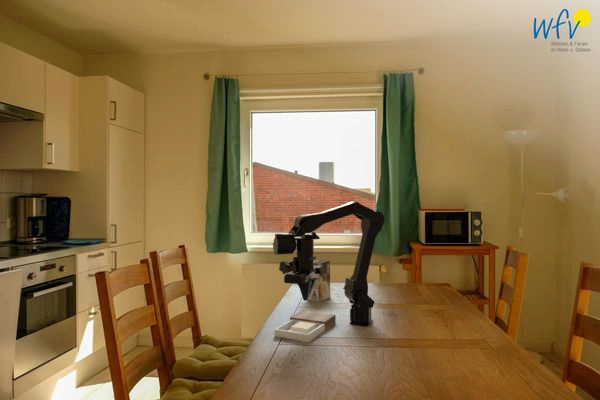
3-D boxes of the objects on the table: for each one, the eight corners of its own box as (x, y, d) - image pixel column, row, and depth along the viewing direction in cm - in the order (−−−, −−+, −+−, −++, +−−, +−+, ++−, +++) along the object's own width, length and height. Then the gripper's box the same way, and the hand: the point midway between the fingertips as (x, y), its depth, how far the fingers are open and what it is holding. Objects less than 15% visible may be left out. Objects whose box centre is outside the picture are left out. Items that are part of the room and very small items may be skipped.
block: (315, 329, 138) (315, 323, 138) (307, 335, 132) (307, 329, 132) (299, 327, 140) (299, 321, 140) (291, 332, 135) (291, 326, 135)
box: (324, 331, 138) (324, 323, 138) (308, 342, 127) (308, 334, 127) (292, 326, 143) (292, 319, 143) (274, 336, 133) (274, 329, 132)
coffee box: (318, 295, 186) (318, 259, 186) (330, 297, 182) (330, 260, 182) (306, 300, 179) (306, 262, 179) (318, 302, 175) (318, 263, 175)
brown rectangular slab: (335, 323, 146) (335, 314, 146) (324, 331, 138) (324, 321, 138) (302, 318, 152) (302, 310, 152) (290, 325, 144) (290, 317, 144)
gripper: (296, 248, 151) (297, 292, 151) (269, 255, 134) (269, 304, 134) (325, 250, 146) (325, 295, 146) (300, 257, 129) (300, 308, 129)
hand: (305, 300), depth 139 cm, fingers closed
